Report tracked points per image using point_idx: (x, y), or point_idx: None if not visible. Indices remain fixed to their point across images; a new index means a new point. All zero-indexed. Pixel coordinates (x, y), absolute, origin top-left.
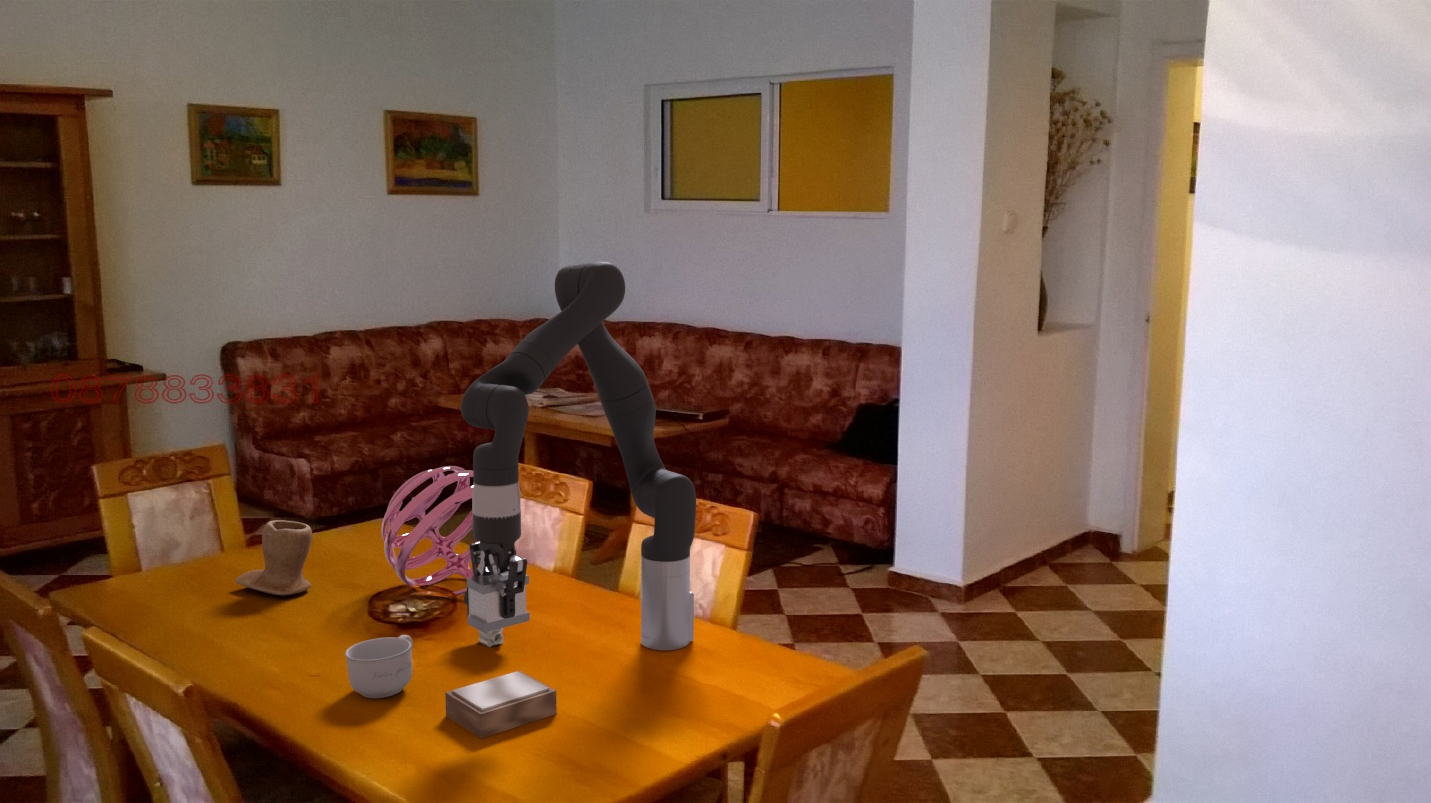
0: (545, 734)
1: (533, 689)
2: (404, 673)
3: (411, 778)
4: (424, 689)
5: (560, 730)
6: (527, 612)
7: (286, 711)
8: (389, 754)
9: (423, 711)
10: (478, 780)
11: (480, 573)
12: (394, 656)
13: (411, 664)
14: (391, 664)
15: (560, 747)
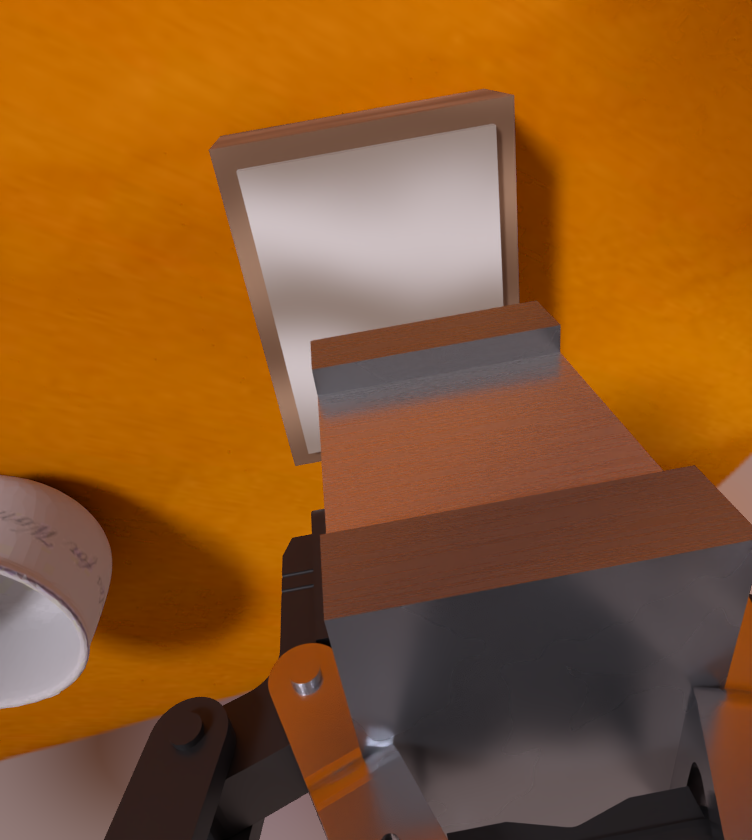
0: (600, 205)
1: (467, 195)
2: (75, 534)
3: None
4: (51, 423)
5: (610, 143)
6: (550, 338)
7: (92, 698)
8: None
9: (231, 463)
10: (692, 453)
11: (246, 820)
12: (76, 618)
13: (17, 515)
14: (88, 604)
15: (709, 202)
